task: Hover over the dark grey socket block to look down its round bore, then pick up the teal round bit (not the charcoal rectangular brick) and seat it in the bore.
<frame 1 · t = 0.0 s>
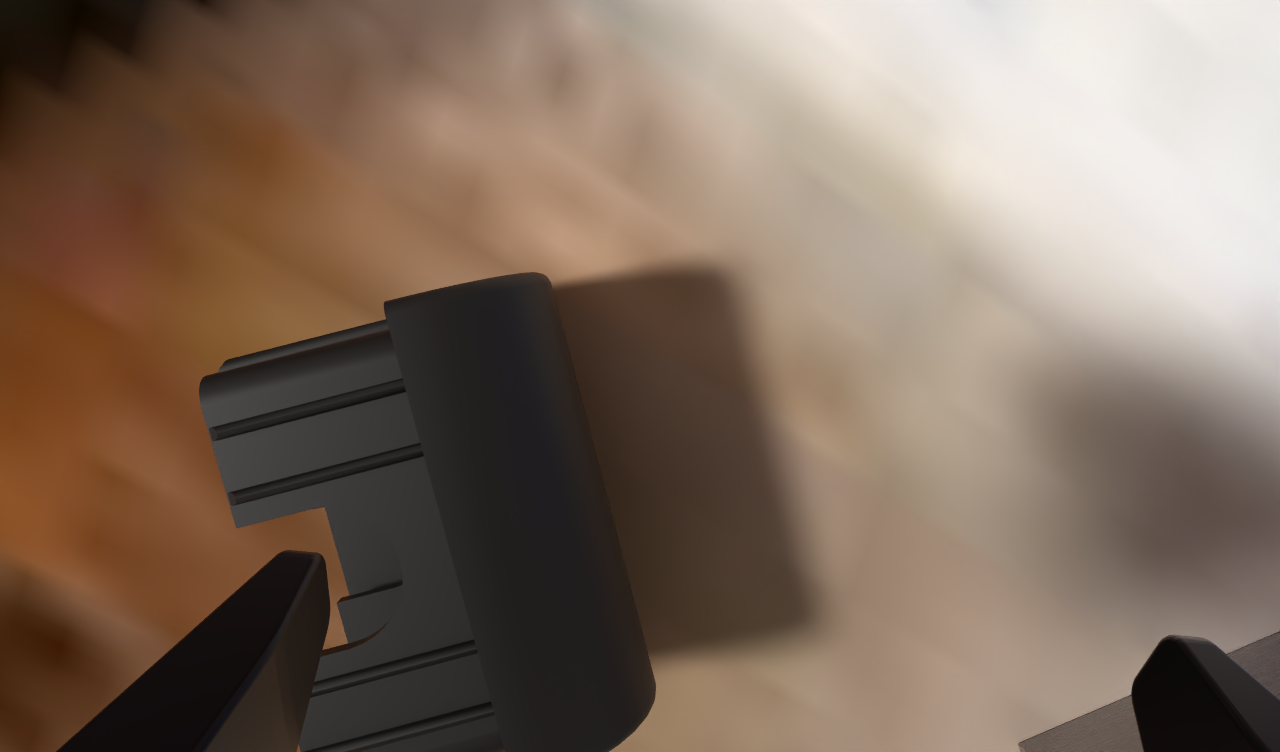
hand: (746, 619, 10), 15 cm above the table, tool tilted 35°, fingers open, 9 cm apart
end cap: (472, 494, 25), on the table
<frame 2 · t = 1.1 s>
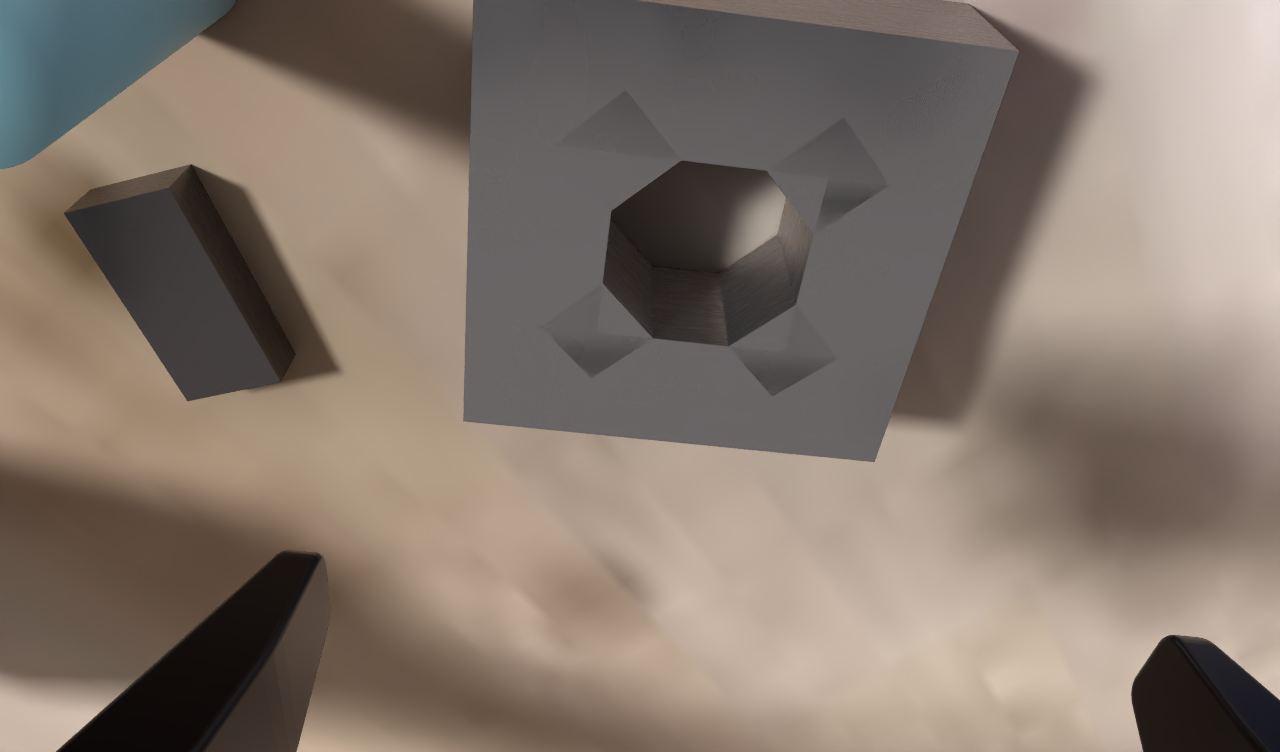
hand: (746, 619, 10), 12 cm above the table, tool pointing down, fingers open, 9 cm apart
socket block: (698, 192, 20), on the table
charcoal rectangular brick: (204, 268, 22), on the table
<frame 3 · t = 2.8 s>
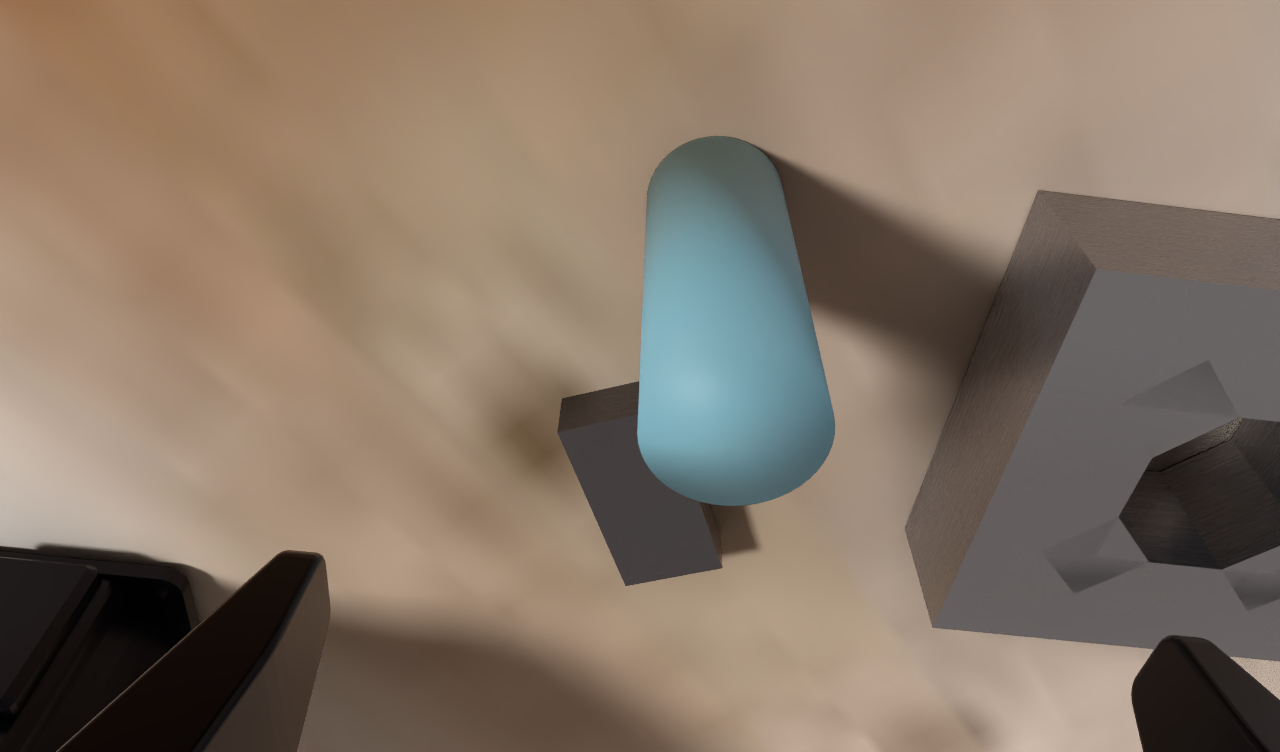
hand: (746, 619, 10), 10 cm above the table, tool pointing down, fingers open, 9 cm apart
socket block: (1164, 403, 21), on the table
round bit: (714, 200, 18), on the table
charcoal rectangular brick: (645, 459, 23), on the table
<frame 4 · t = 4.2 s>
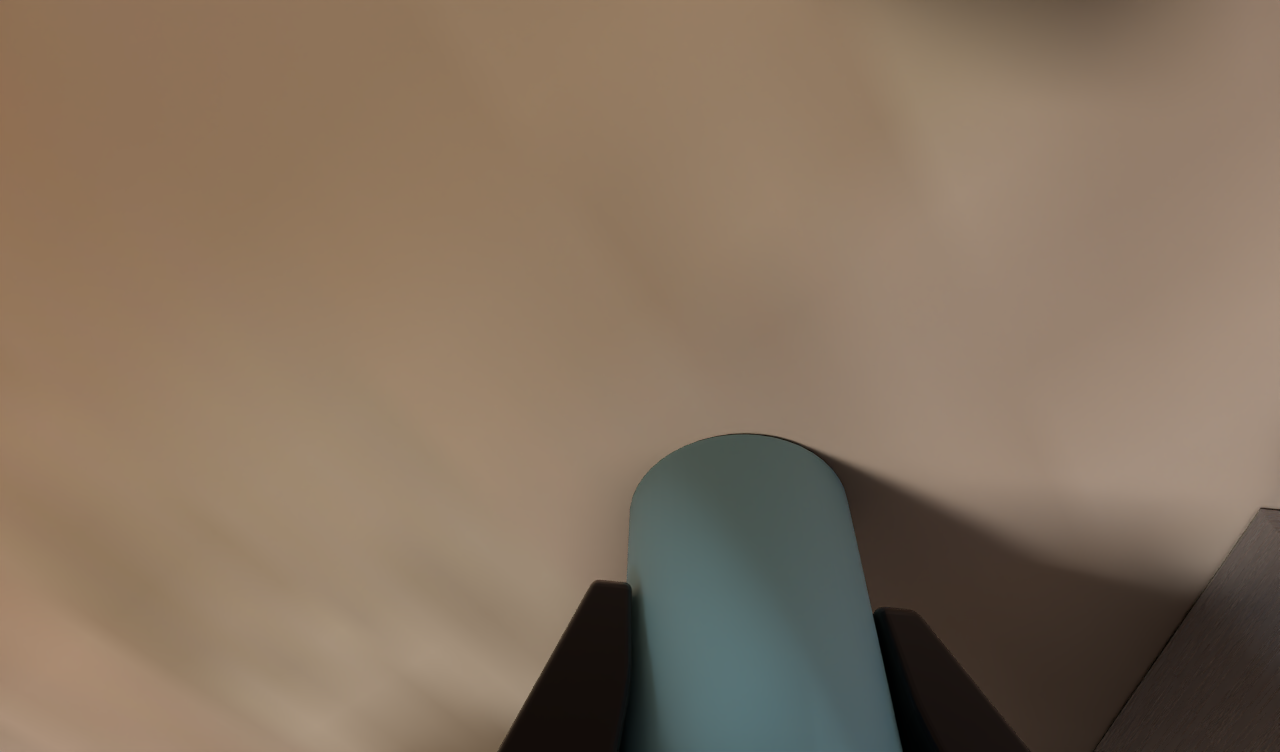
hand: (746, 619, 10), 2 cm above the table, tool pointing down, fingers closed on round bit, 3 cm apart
round bit: (738, 518, 11), on the table, touching gripper
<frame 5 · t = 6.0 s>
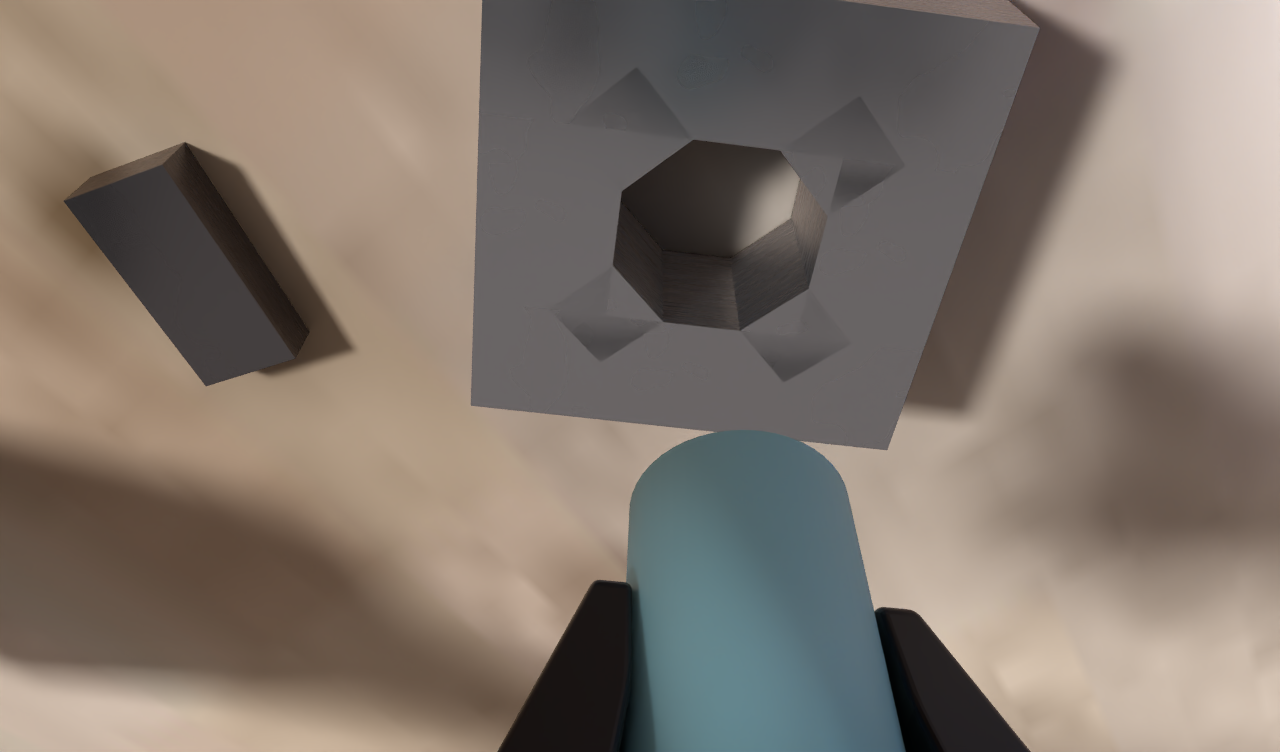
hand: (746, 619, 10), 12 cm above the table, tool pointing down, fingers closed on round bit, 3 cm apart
socket block: (710, 175, 20), on the table
round bit: (738, 514, 11), point 11 cm above the table, touching gripper
charcoal rectangular brick: (211, 250, 22), on the table
when the fingers open (4 cm above the table, at t = 8.1 s): round bit drops 2 cm, resting in socket block.
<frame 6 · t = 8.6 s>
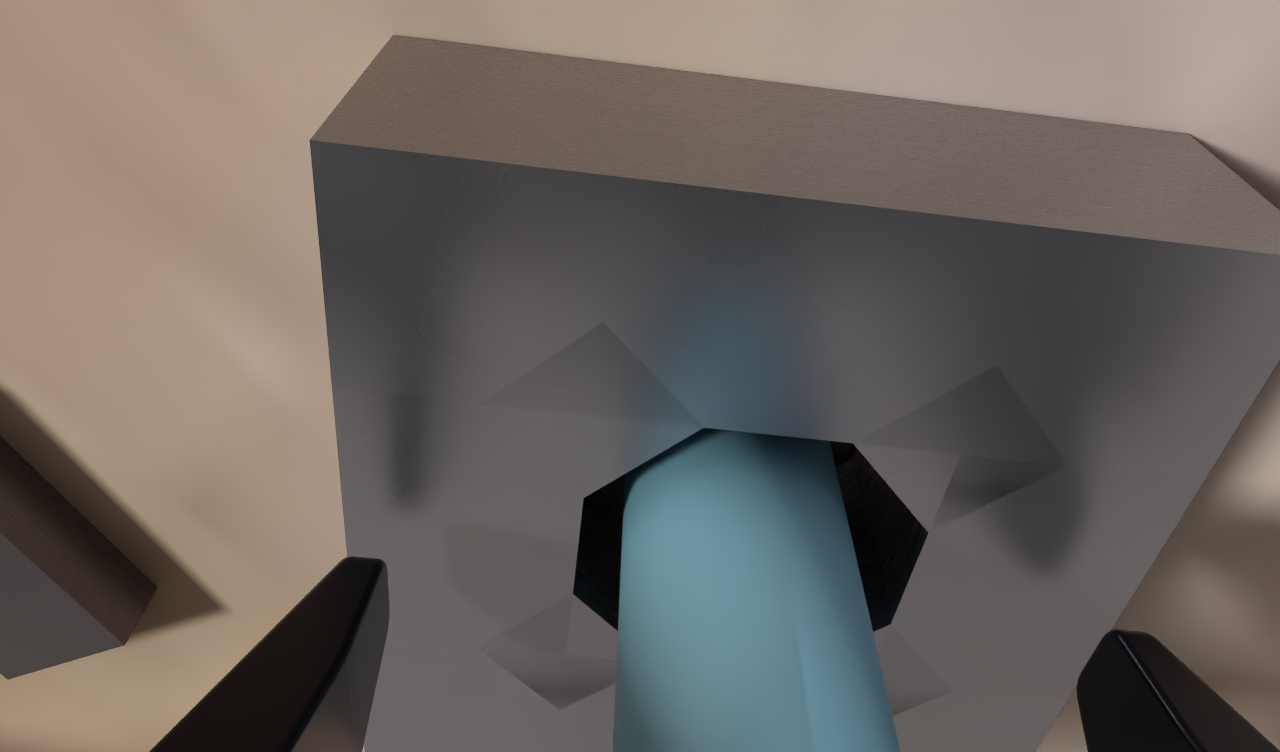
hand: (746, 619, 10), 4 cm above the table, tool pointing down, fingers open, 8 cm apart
socket block: (730, 403, 13), on the table
round bit: (721, 398, 13), resting in socket block
charcoal rectangular brick: (2, 489, 15), on the table
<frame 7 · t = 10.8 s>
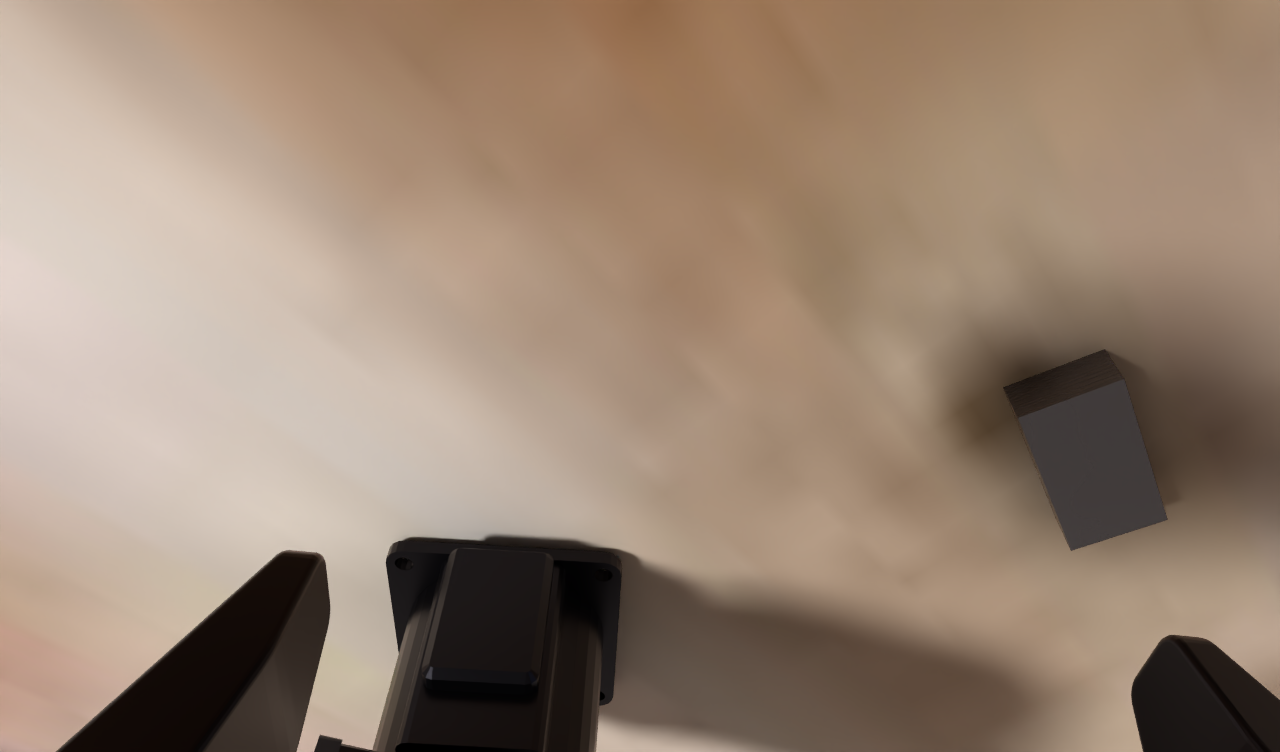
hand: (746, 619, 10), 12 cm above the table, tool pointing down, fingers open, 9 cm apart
charcoal rectangular brick: (1073, 431, 24), on the table
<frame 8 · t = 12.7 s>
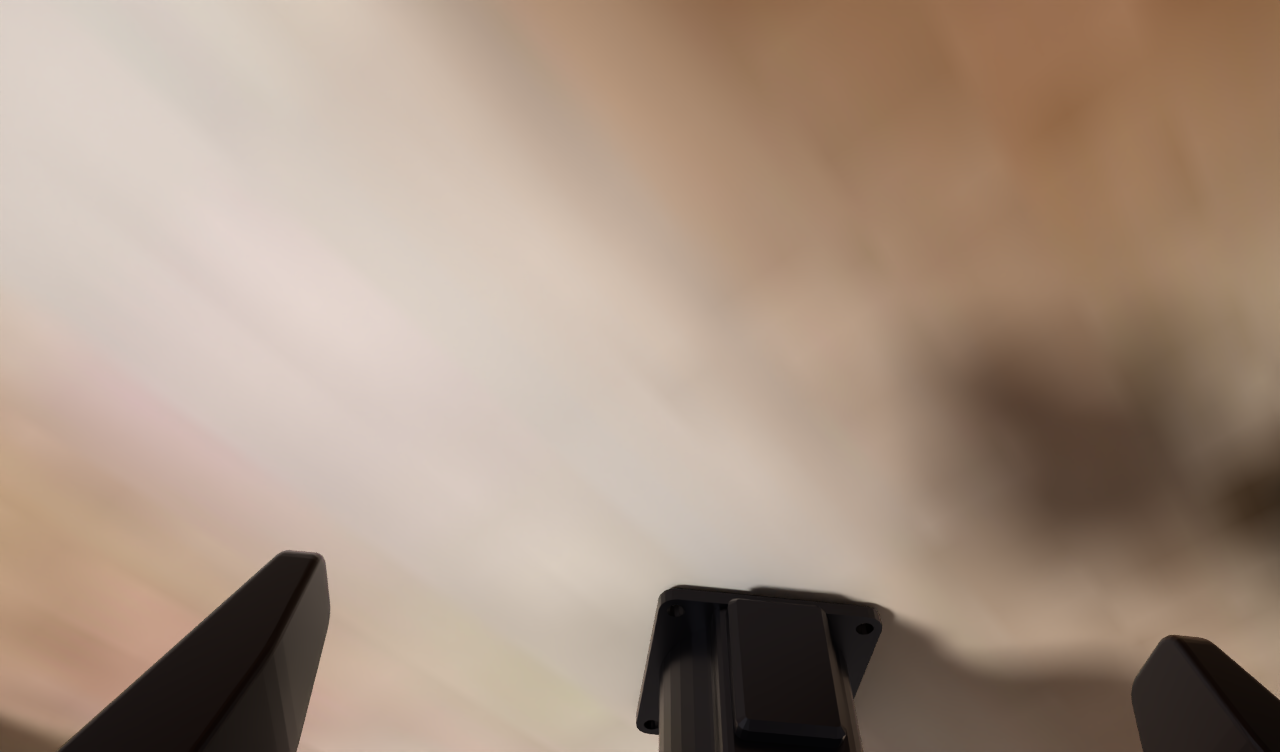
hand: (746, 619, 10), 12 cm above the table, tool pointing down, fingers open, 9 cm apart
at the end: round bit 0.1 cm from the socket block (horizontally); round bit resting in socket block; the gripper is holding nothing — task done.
